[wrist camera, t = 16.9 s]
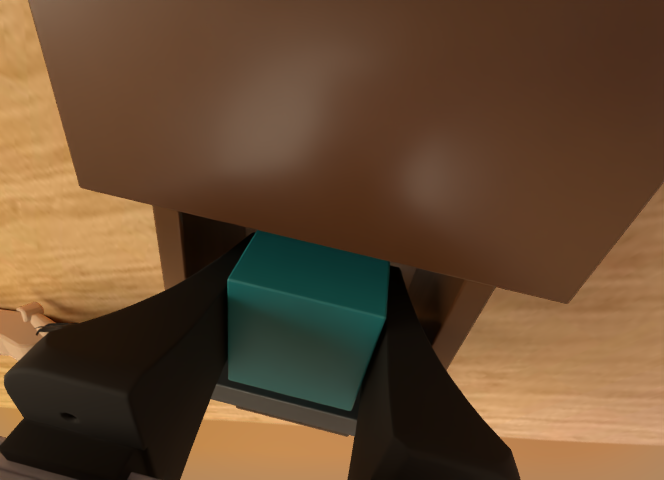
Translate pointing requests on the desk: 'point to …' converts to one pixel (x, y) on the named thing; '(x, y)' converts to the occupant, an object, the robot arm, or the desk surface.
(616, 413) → the desk surface
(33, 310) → the toy figure
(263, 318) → the teal rectangular block
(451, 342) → the drawer
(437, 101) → the cabinet
